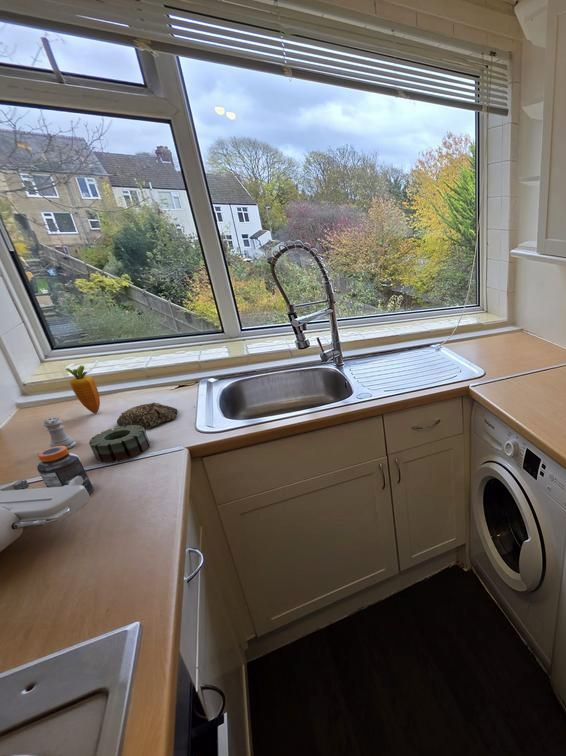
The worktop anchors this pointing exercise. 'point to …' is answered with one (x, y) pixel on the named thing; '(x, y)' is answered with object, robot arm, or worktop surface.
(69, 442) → the rook chess piece
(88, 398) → the carrot
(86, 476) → the pill bottle
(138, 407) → the bread roll
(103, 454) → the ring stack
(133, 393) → the worktop surface
